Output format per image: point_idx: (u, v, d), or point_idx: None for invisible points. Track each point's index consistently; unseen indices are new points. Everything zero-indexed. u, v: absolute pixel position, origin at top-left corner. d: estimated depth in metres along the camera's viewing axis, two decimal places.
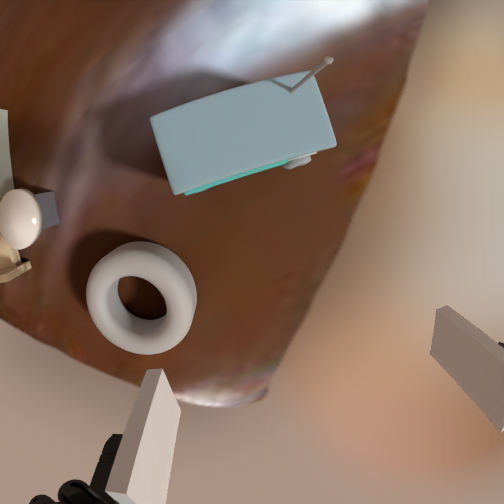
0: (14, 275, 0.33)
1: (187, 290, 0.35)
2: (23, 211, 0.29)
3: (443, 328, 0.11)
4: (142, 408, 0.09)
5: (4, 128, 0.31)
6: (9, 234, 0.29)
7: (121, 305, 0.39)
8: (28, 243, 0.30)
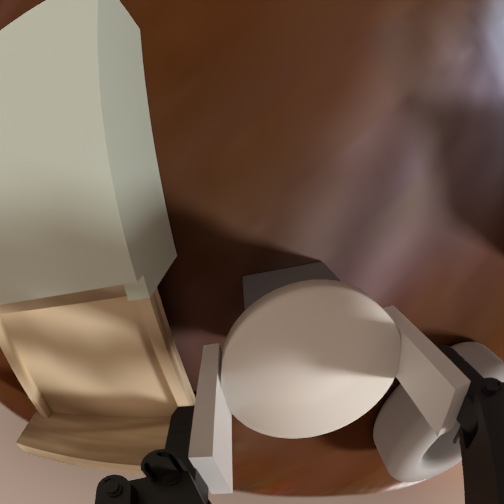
0: None
1: None
2: (361, 357, 0.11)
3: None
4: (209, 378, 0.11)
5: (139, 68, 0.13)
6: (275, 414, 0.12)
7: None
8: (347, 422, 0.12)
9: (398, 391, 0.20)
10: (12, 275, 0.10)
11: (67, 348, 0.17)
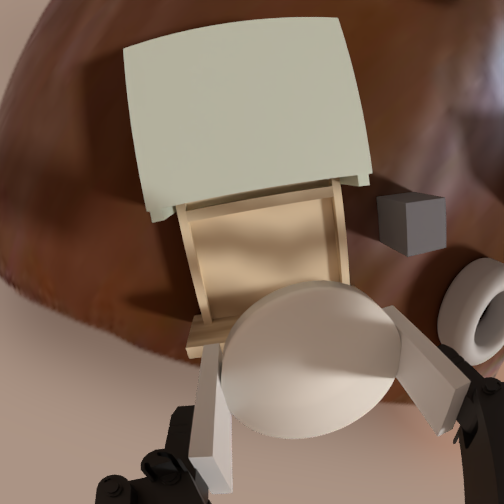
0: None
1: None
2: (361, 358, 0.11)
3: None
4: (209, 378, 0.11)
5: None
6: (275, 414, 0.12)
7: None
8: (347, 422, 0.12)
9: (452, 285, 0.31)
10: (291, 166, 0.21)
11: (261, 245, 0.28)
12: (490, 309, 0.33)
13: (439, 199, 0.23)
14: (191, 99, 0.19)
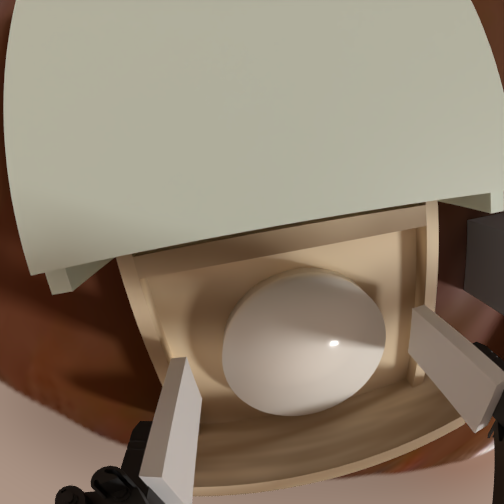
0: None
1: None
2: (348, 338, 0.13)
3: (419, 327, 0.12)
4: (170, 394, 0.10)
5: None
6: (271, 390, 0.13)
7: None
8: (338, 401, 0.14)
9: None
10: (387, 161, 0.07)
11: None
12: None
13: None
14: None
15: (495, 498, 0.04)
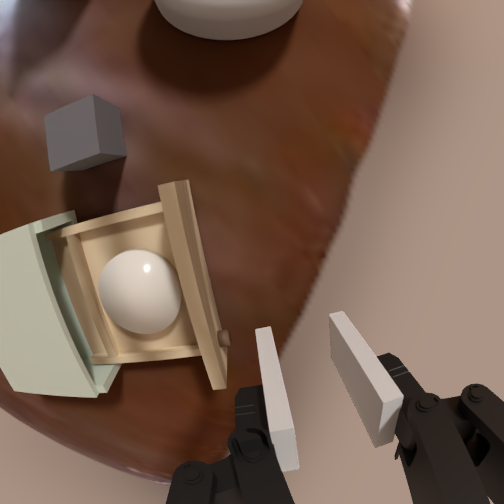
0: None
1: None
2: (124, 276, 0.24)
3: (333, 333, 0.13)
4: (269, 358, 0.11)
5: None
6: (159, 312, 0.25)
7: None
8: (169, 273, 0.24)
9: (186, 32, 0.21)
10: (39, 298, 0.21)
11: None
12: None
13: (46, 124, 0.18)
14: (25, 358, 0.22)
15: None
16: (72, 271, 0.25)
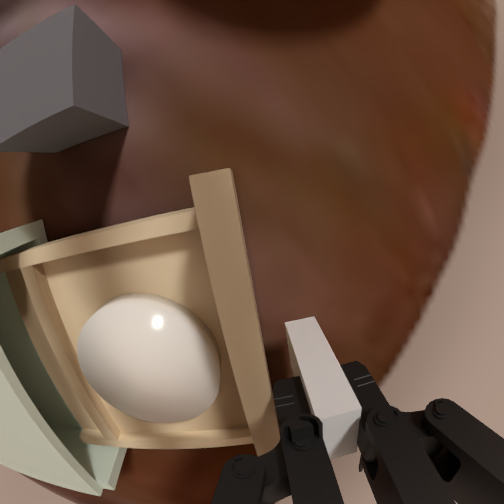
0: None
1: None
2: (118, 344, 0.13)
3: None
4: (304, 349, 0.12)
5: None
6: (184, 398, 0.14)
7: None
8: (200, 342, 0.13)
9: None
10: None
11: None
12: None
13: None
14: None
15: None
16: (38, 321, 0.14)
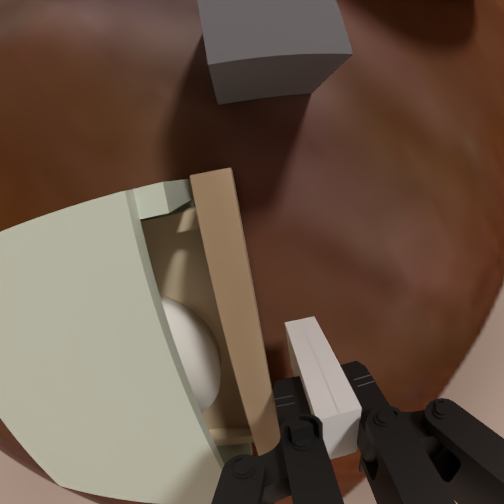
0: None
1: None
2: None
3: None
4: (304, 349, 0.12)
5: None
6: None
7: None
8: (199, 339, 0.13)
9: None
10: (146, 378, 0.10)
11: None
12: None
13: None
14: (90, 461, 0.11)
15: None
16: None
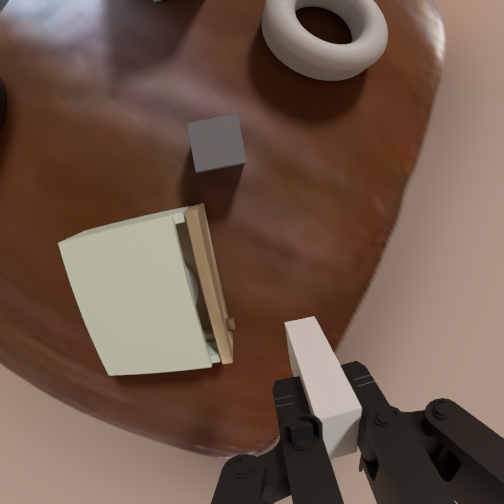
0: (195, 208, 0.29)
1: None
2: None
3: None
4: (304, 349, 0.12)
5: (103, 226, 0.33)
6: None
7: None
8: (188, 273, 0.33)
9: (292, 68, 0.30)
10: (174, 280, 0.29)
11: None
12: (325, 6, 0.27)
13: (189, 130, 0.26)
14: (138, 339, 0.31)
15: None
16: None
